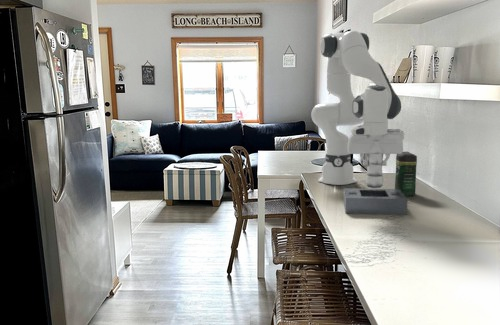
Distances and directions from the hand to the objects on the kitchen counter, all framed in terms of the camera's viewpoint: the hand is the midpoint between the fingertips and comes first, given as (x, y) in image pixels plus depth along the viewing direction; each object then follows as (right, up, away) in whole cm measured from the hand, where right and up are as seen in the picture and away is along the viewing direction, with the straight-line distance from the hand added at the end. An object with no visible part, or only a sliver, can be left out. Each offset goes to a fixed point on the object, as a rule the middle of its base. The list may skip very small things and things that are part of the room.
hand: (374, 165), depth 162 cm
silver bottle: (0, -9, +1) cm, 9 cm away
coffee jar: (+20, -13, +23) cm, 33 cm away
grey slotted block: (0, -17, +3) cm, 17 cm away
